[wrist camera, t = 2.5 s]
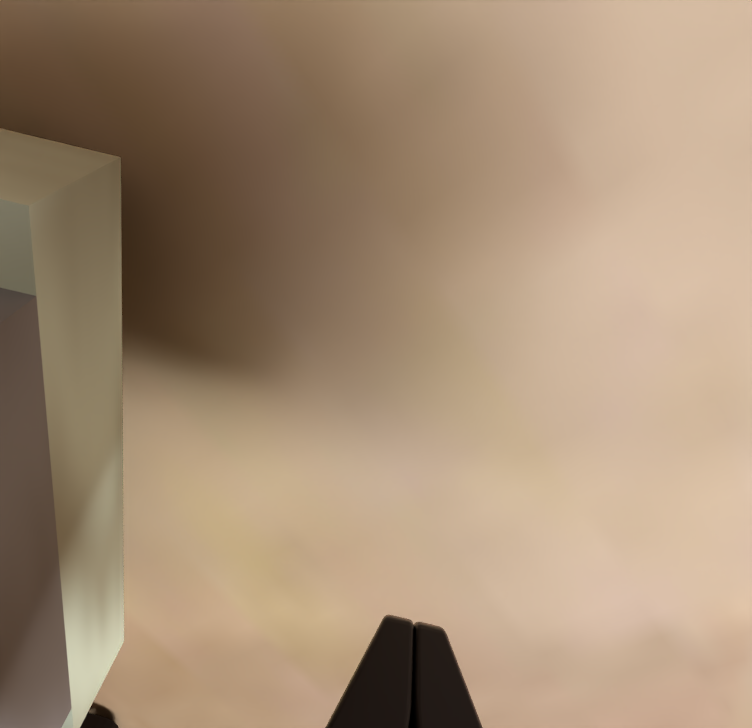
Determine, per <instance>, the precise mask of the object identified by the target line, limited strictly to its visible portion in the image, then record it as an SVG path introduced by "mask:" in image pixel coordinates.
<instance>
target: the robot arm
mask: <svg viewBox="0 0 752 728" xmlns="http://www.w3.org/2000/svg"><path fill="white" fill-rule="evenodd" d="M80 728H118V726H117V725H116V724H115V723H114V722H113V721H111V720H110V719H108V718H105V717H102V716H98V715H94V714H90V713H87V715H86V717H85V719H84V721H83V723H82V725H81V727H80ZM326 728H482V725H481V722H480V720H479V717H478V715H477V712H476V709H475V707H474V704H473V702H472V699H471V696H470V694H469V691H468V689H467V686H466V683H465V681H464V678H463V676H462V673H461V670H460V668H459V665H458V663H457V660H456V657H455V655H454V652H453V650H452V647H451V644H450V642H449V639H448V637H447V634H446V632H445V631H444V629H443V628H441V627H439V626H435V625H431V624H427V623H423V622H416V623H415V624H414V625H413V622H412V621H411V620H409V619H405V618H401V617H397V616H393V615H386V616H385V617H384V618H383V620H382V622H381V624H380V625H379V627H378V629H377V631H376V633H375V635H374V637H373V639H372V641H371V642H370V644H369V646H368V648H367V650H366V652H365V654H364V656H363V658H362V660H361V661H360V663H359V665H358V667H357V669H356V671H355V673H354V675H353V677H352V678H351V680H350V682H349V684H348V686H347V688H346V690H345V692H344V694H343V696H342V697H341V699H340V701H339V703H338V705H337V707H336V709H335V711H334V713H333V714H332V716H331V718H330V720H329V722H328V724H327V726H326Z"/></svg>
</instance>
